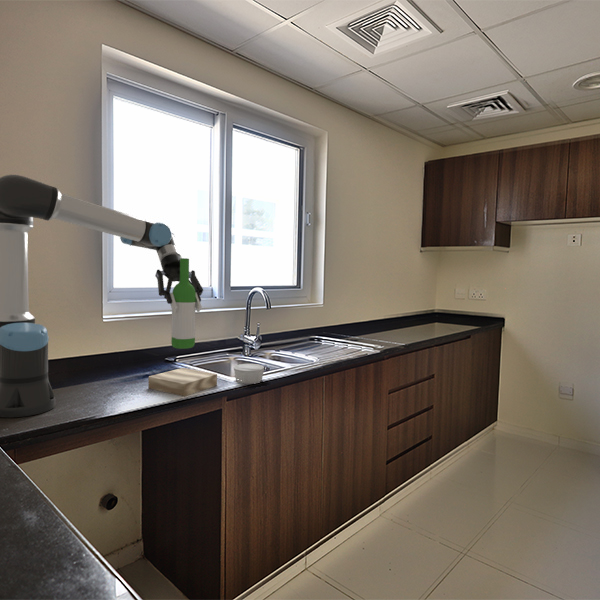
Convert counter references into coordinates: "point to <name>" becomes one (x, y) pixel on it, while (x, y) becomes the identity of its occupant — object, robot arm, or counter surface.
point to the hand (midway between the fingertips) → (187, 309)
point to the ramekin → (249, 373)
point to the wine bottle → (184, 310)
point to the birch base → (182, 381)
